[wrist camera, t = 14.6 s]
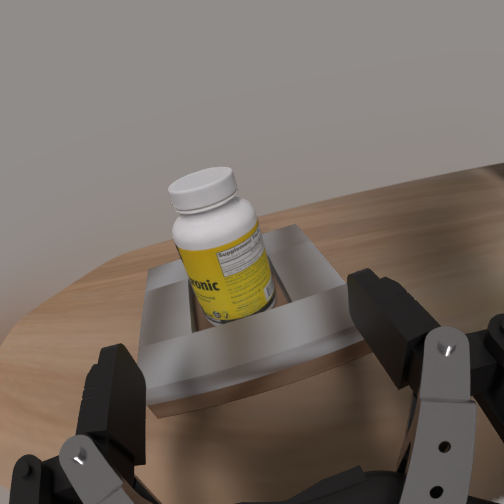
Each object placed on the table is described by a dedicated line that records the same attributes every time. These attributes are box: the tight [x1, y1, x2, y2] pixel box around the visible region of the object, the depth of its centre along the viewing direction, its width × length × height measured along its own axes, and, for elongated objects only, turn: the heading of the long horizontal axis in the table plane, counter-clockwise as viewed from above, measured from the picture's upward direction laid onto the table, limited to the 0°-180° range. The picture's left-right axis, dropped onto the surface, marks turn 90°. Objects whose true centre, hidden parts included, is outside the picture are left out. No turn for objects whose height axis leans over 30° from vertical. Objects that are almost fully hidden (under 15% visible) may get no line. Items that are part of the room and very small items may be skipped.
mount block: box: [137, 224, 372, 418], centre depth 23 cm, size 14×14×3 cm
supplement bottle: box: [168, 167, 276, 326], centre depth 21 cm, size 5×5×10 cm
